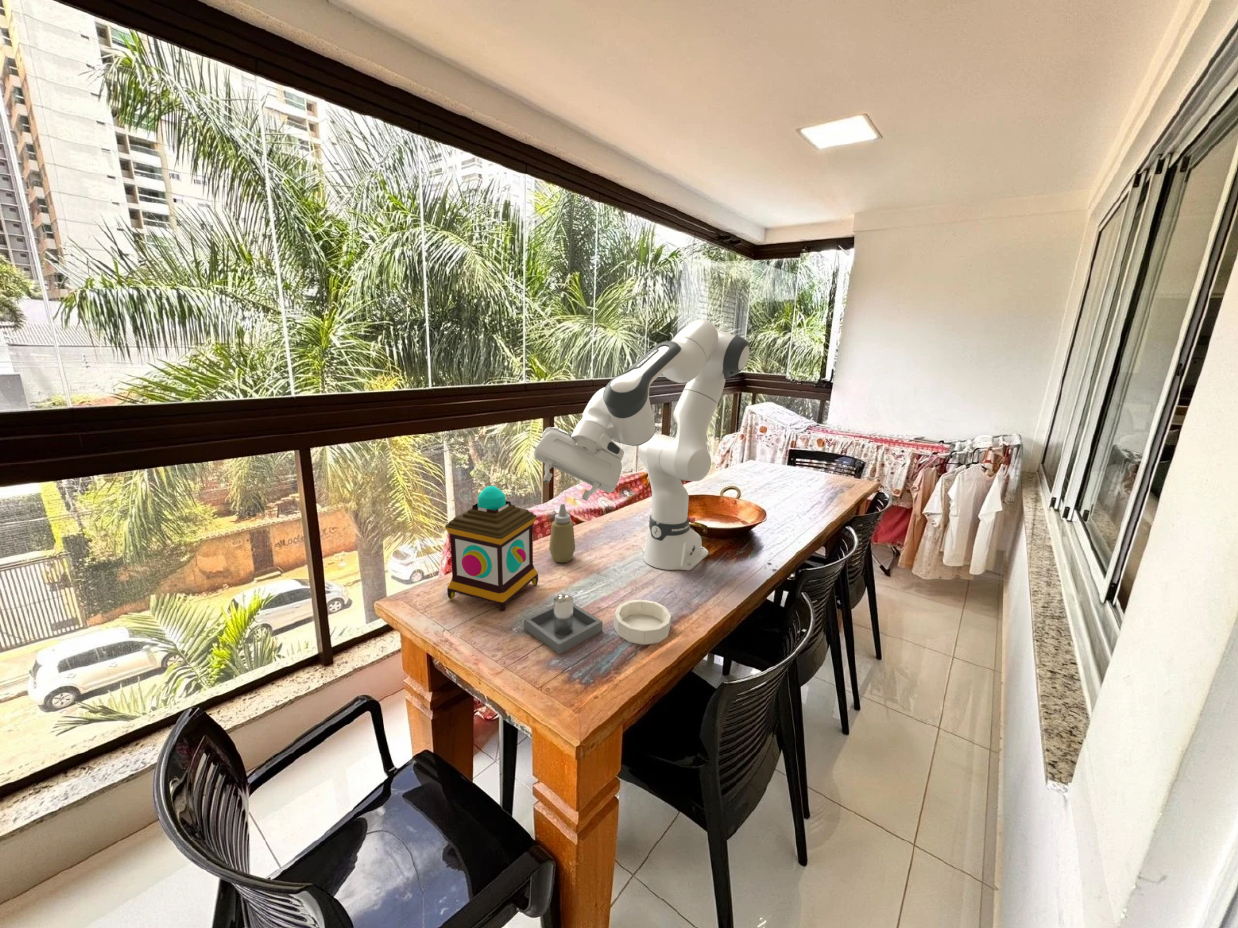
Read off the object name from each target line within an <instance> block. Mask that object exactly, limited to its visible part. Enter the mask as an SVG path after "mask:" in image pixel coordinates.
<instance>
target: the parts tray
mask: <svg viewBox="0 0 1238 928" xmlns="http://www.w3.org/2000/svg"><path fill="white" fill-rule="evenodd" d="M523 629H524V630H525V631H526V632H527V633H529V634H530V635H532V636H533V637H535V638H536V639H538V641H540V642H541V643H543V644H544V645H545V646H547V647H548V648H549V649H551V650H553V651H554V652H555V653H556V654H558V655H561V654H563V653H565V652H567V651H569V650H570V649H572V648H574V647H576V646H577V645H579V644H582V643H583V642H585V641H587V640H588V639H590V638H592V637H593V636H596V635H597V634H599V633H600V632H602V631H603V620H601V619H599V618H598V617H597V616H595V615H593V614H592V613H590V612H588V611H587V610H585V609H583V608H582V607H580V606H578V605H577V604H575V603H573V631H572V632H571V633H570V634H568V635H558V634H556V633H555V632H554V604H553V605H552V606H549V607H547V608H545V609H543V610H541V611H538V612H537V613H534V614H532V615H530V616H528V617H526V618H523Z"/></svg>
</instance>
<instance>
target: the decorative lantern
mask: <svg viewBox="0 0 1238 928" xmlns="http://www.w3.org/2000/svg"><path fill="white" fill-rule="evenodd" d="M536 520H537V514H535V513H534V512H532V511H530V510H529V509H526V508H522V507H518V506H516V505H515V504H512V503H511V501H507V499H506V495H505V493H504V492H503V491H502V490H501V489H500V488H499V487H497V486H495V485H489V486H486V487H485V488H483V489H482V490H481V492H479V494H478V497H477V503H476V504H473V505H472V508H469V509H468V510H466V511H465V512H462V513H461V514H459V515H457V516H455V517H453V519H452V520H451V519H450V521H448V522H447V524H445V525H444V528H445V530H446V531H447V533H448V534H449V540H450V559H451V561H450V562H451V573H452V574H451V575H452V576H451V580H450V582H449V584H448V586H447V588H446V589H447V593H446V594H447V597H448V599H449V600H454V599H455V596H456V594H460V595H463V596H466V597H471V598H475V599H479V600H482V601H485V602H490V603H494V604H496V605H497V606H498V610H499V611H500V612H505V611H506V607H507V603H508V602H509V601H510V600H511V599H512V598H514V597H515V596H516V595H517V594H518V593H519V592H520V591H522V590H523V589H524V588H525V587H527V586H528V585H529V584H530V583H532V585H533V586H536V585H538V582H539V572H538V571H537V569H536V568H535V566H534V546H533V545H534V540H533V539H534V537H533V535H534V534H533V532H534V531H533V529H534V523H535V521H536Z"/></svg>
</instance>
